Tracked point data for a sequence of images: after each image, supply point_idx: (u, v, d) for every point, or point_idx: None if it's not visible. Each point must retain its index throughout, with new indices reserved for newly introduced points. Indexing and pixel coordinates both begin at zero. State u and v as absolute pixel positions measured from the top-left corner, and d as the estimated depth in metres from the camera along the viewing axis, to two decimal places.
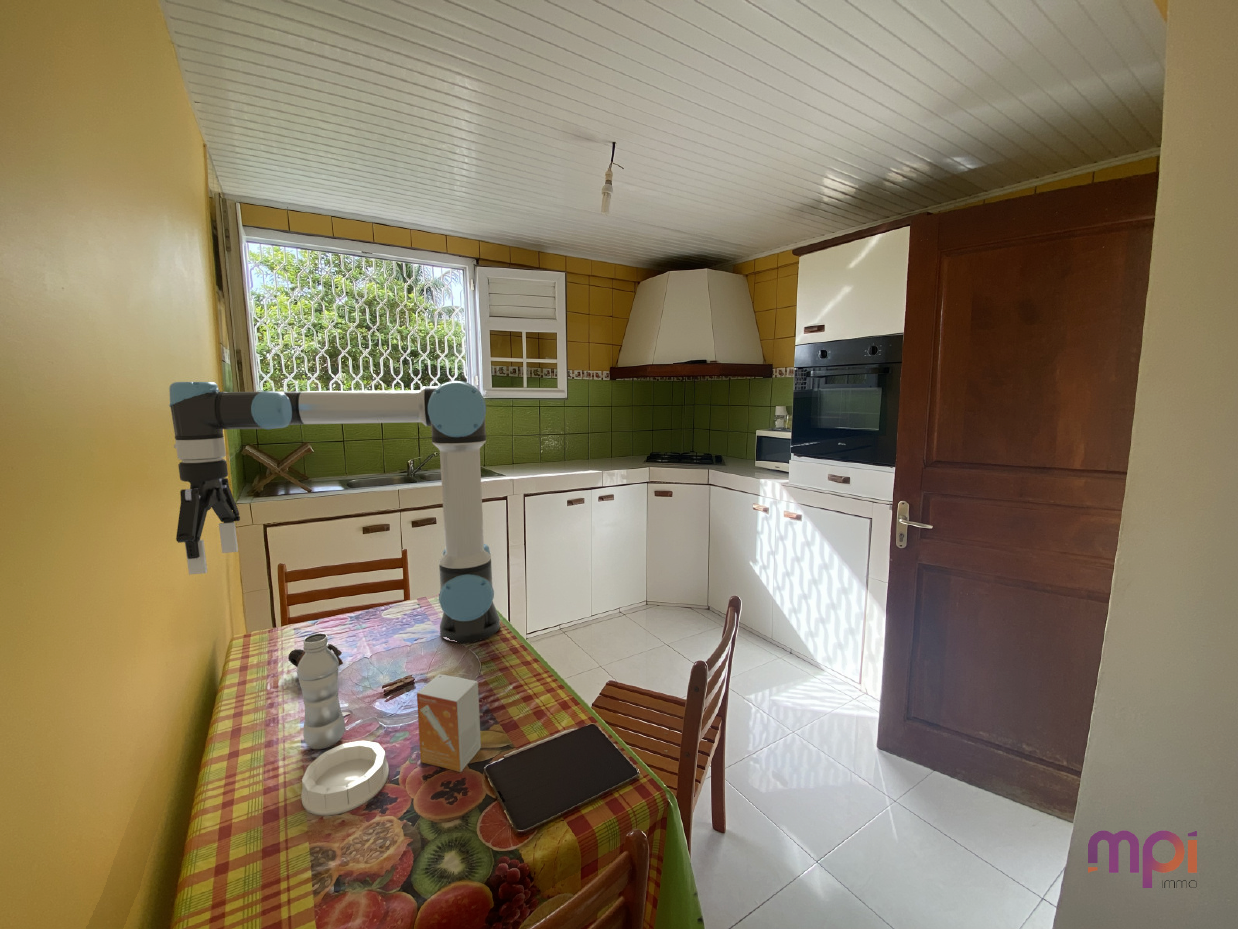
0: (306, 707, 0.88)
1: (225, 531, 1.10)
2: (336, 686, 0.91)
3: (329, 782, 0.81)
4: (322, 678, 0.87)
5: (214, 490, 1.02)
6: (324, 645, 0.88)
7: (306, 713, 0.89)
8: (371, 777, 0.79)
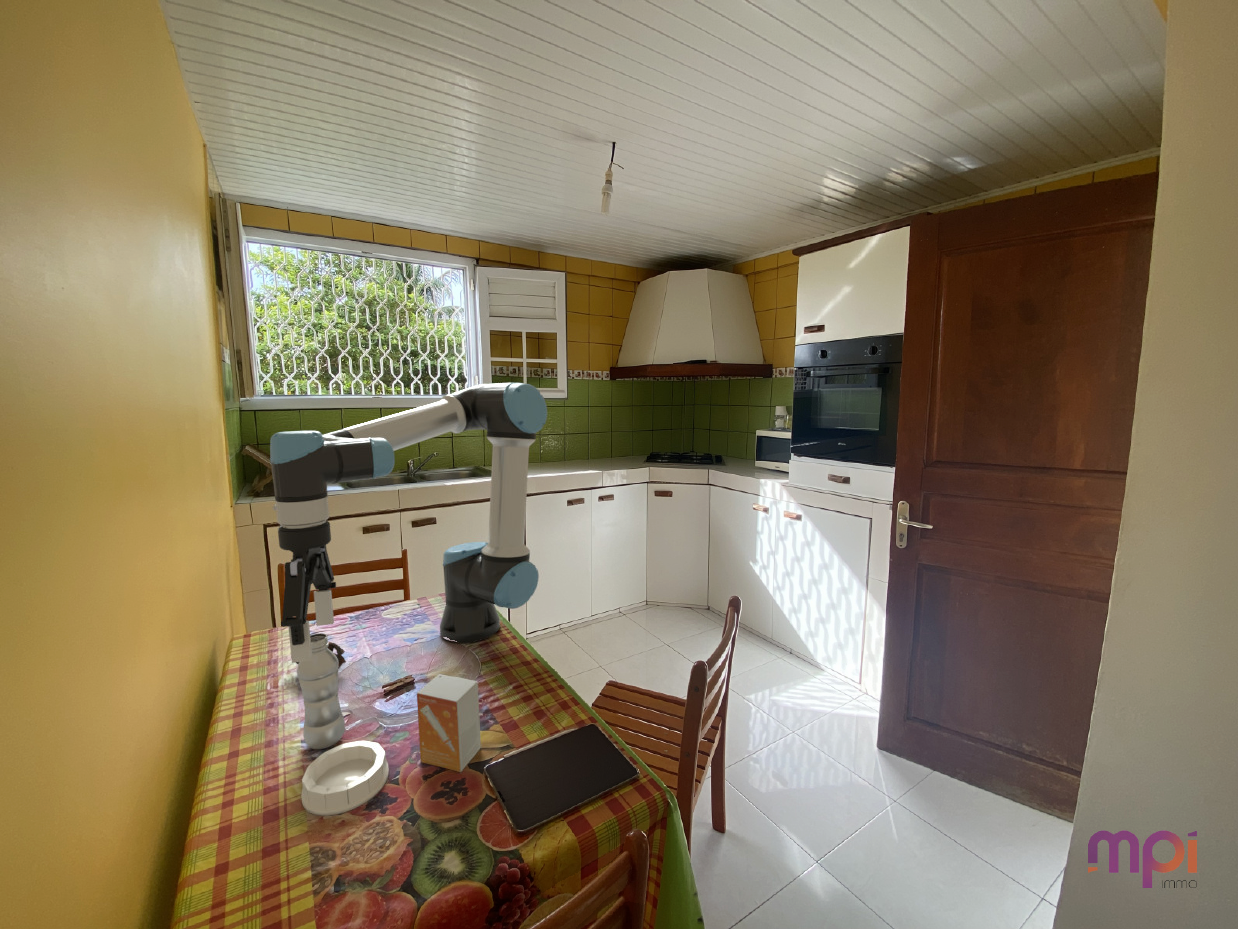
0: (306, 707, 0.88)
1: (321, 601, 0.94)
2: (336, 686, 0.91)
3: (329, 782, 0.81)
4: (322, 678, 0.87)
5: (317, 559, 0.86)
6: (324, 645, 0.88)
7: (306, 713, 0.89)
8: (371, 777, 0.79)
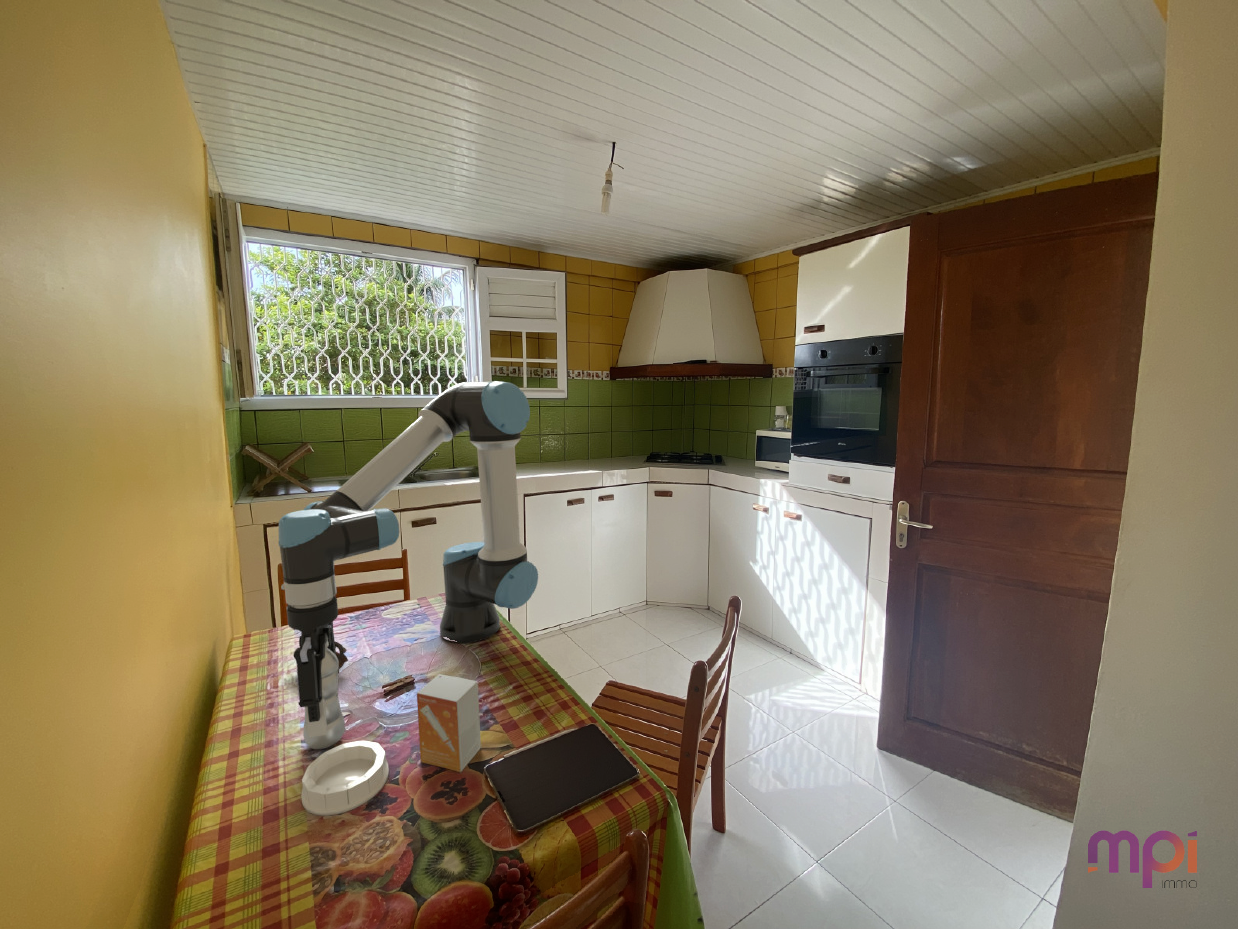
0: None
1: None
2: (336, 686, 0.91)
3: (329, 782, 0.81)
4: (322, 678, 0.87)
5: (325, 635, 0.88)
6: None
7: None
8: (371, 777, 0.79)
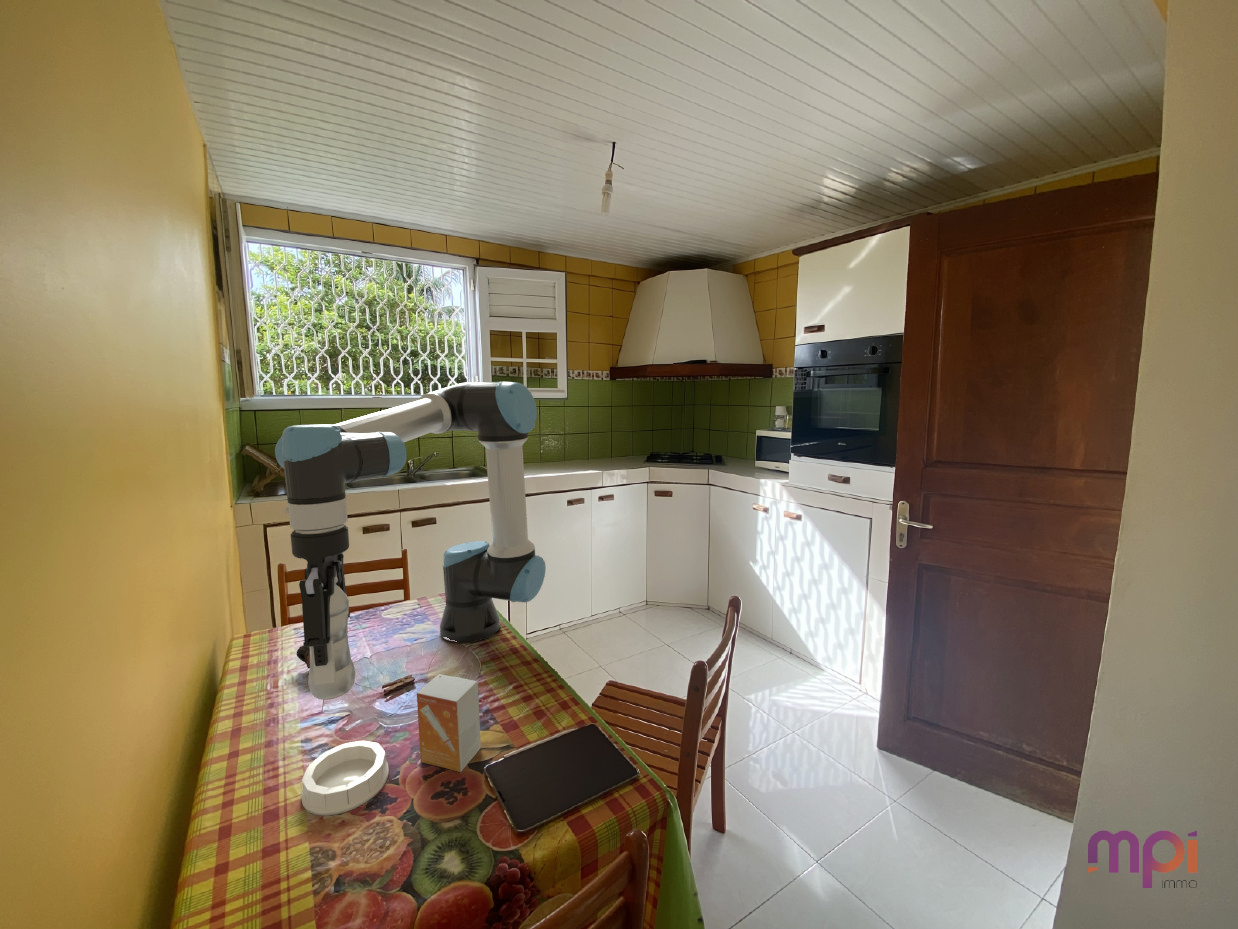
0: None
1: None
2: (346, 628, 0.79)
3: (329, 782, 0.81)
4: (330, 617, 0.76)
5: (334, 568, 0.77)
6: None
7: None
8: (371, 777, 0.79)
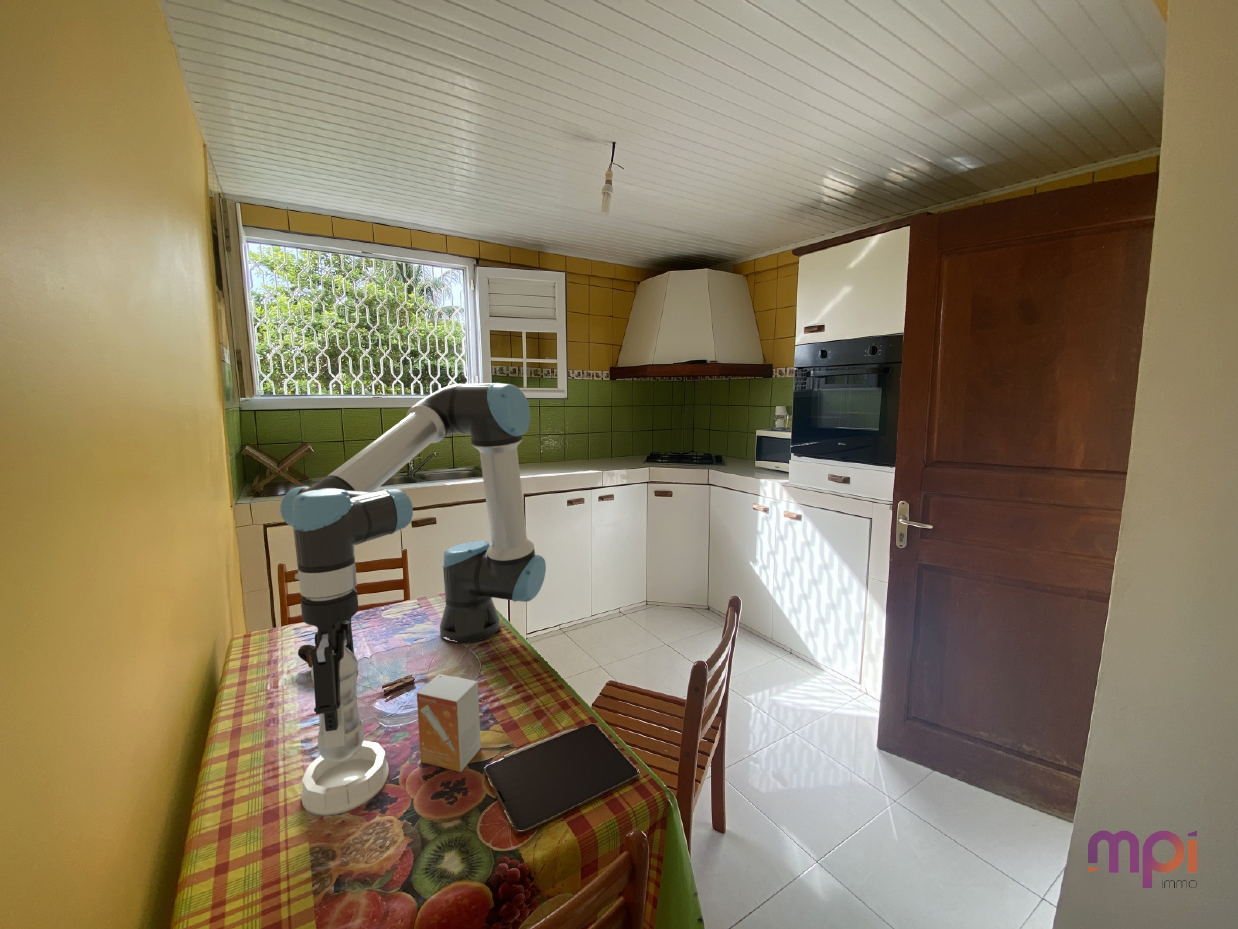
0: (321, 714, 0.78)
1: None
2: (355, 690, 0.80)
3: (329, 782, 0.81)
4: (340, 681, 0.77)
5: (344, 632, 0.77)
6: None
7: (321, 721, 0.78)
8: (371, 777, 0.79)
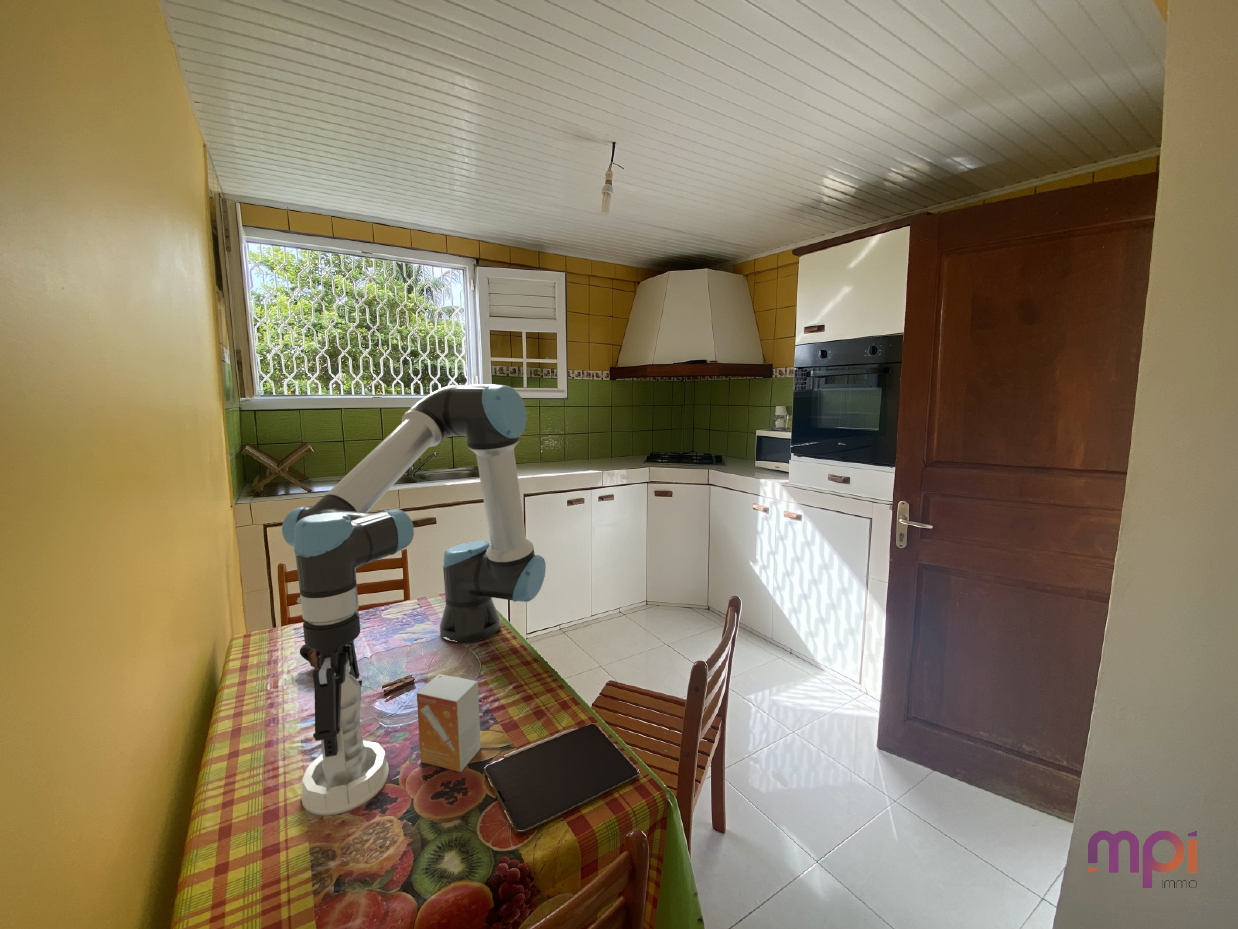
0: None
1: None
2: (358, 716, 0.81)
3: None
4: (344, 708, 0.78)
5: (346, 655, 0.78)
6: None
7: None
8: (371, 777, 0.79)
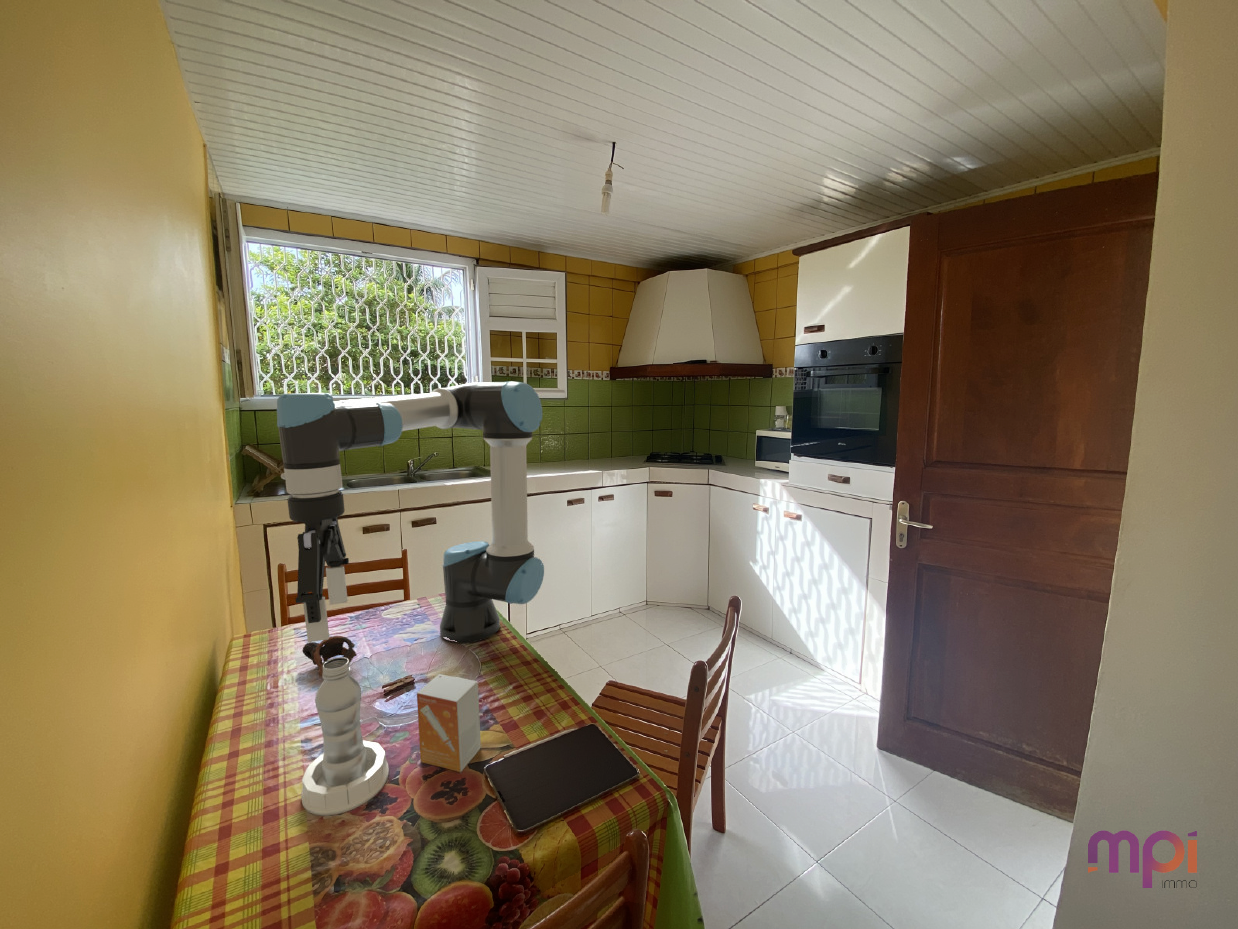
0: (325, 741, 0.79)
1: (333, 578, 0.88)
2: (358, 716, 0.81)
3: None
4: (344, 709, 0.78)
5: (331, 531, 0.80)
6: (345, 671, 0.79)
7: (325, 748, 0.79)
8: (371, 777, 0.79)
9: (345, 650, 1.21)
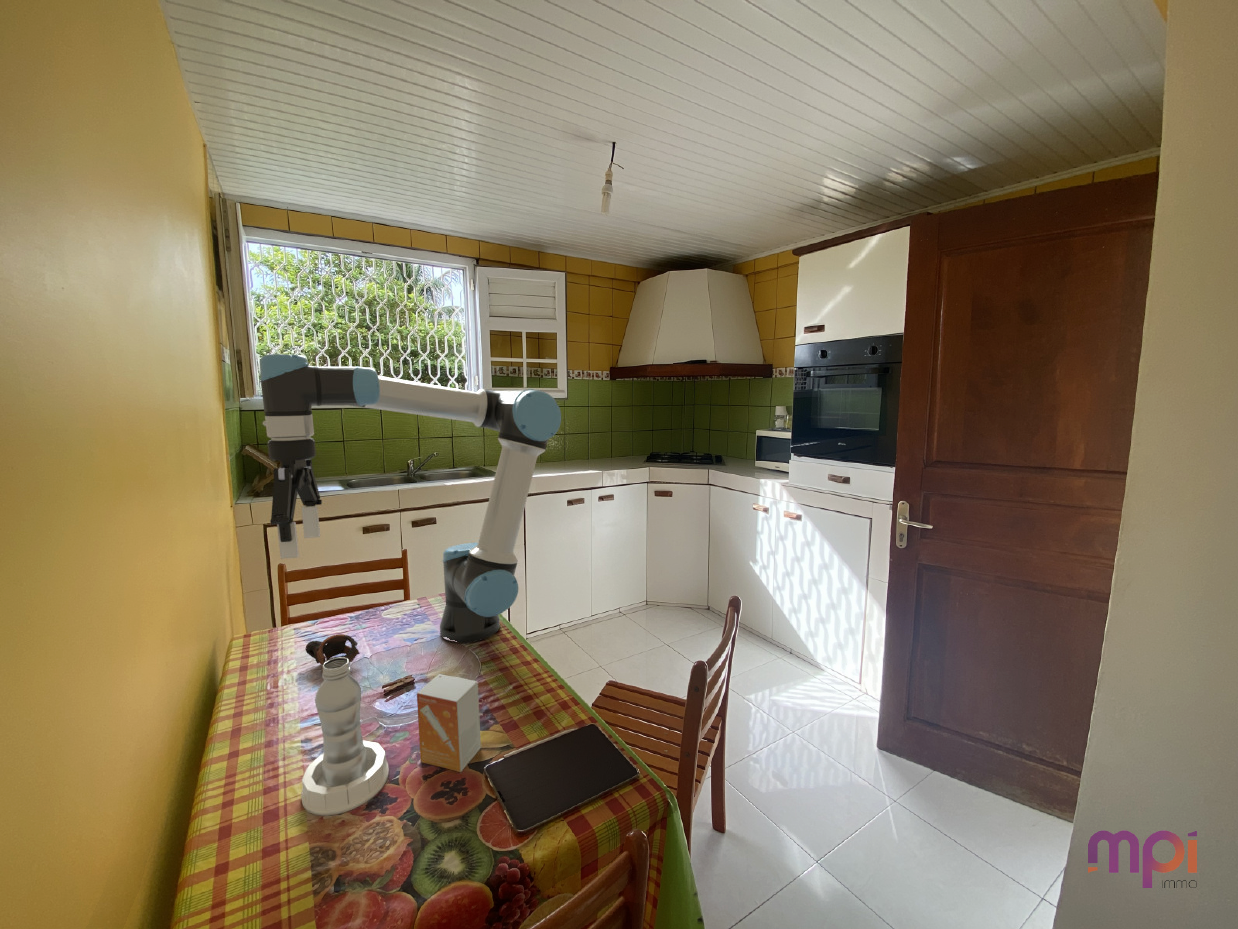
0: (325, 741, 0.79)
1: (308, 515, 1.04)
2: (358, 716, 0.81)
3: None
4: (344, 709, 0.78)
5: (303, 470, 0.96)
6: (345, 671, 0.79)
7: (325, 748, 0.79)
8: (371, 777, 0.79)
9: (348, 648, 1.21)
